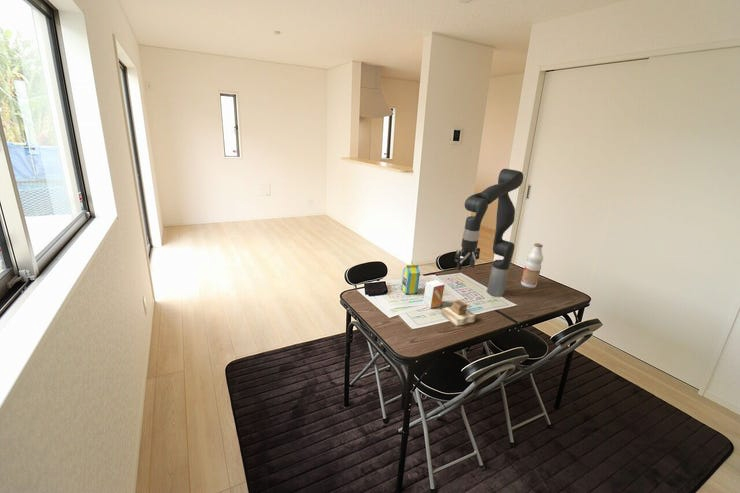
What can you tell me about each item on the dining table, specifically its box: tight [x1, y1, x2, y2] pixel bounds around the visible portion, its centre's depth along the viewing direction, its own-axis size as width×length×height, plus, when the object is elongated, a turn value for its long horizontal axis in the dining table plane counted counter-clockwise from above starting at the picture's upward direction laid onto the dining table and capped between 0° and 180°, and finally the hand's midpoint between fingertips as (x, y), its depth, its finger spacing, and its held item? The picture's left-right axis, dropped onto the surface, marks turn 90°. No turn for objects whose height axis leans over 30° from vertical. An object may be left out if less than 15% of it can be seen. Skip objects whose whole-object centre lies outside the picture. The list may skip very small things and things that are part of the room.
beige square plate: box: [440, 305, 477, 327], centre depth 178 cm, size 12×12×4 cm
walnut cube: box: [451, 299, 468, 315], centre depth 177 cm, size 5×5×5 cm
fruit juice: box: [520, 242, 544, 289], centre depth 221 cm, size 9×9×28 cm
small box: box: [422, 279, 445, 309], centre depth 188 cm, size 8×6×13 cm
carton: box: [400, 260, 421, 296], centre depth 200 cm, size 7×8×18 cm
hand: (465, 268), depth 175 cm, fingers open, 8 cm apart
